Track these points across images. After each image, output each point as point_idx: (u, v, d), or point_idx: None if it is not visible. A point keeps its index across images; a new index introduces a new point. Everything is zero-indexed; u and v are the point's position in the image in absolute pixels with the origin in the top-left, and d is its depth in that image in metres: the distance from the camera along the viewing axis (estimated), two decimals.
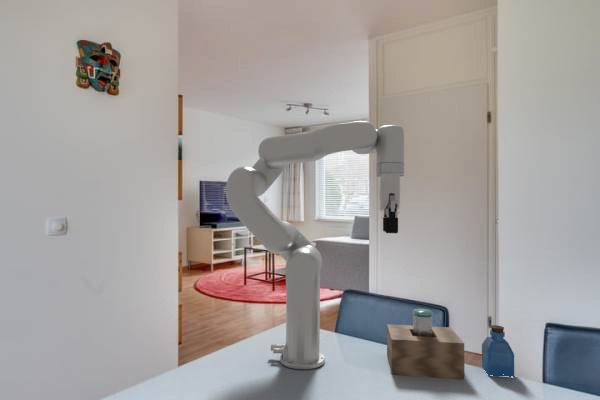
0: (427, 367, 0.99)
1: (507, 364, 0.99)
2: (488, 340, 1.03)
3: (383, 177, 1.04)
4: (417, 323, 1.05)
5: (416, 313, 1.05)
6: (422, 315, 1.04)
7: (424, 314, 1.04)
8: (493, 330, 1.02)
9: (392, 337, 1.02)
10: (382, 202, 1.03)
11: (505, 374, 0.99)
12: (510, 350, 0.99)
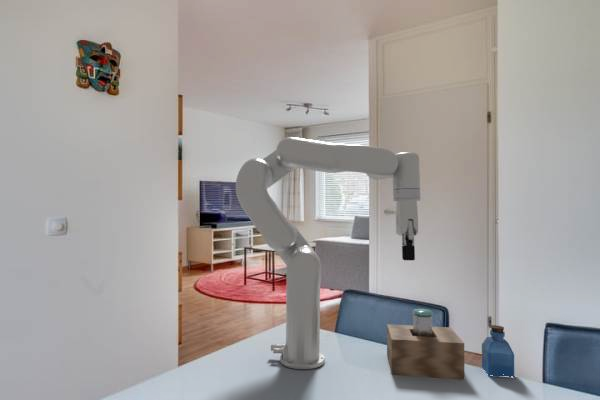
0: (427, 367, 0.99)
1: (507, 364, 0.99)
2: (488, 340, 1.03)
3: (401, 203, 1.07)
4: (417, 323, 1.05)
5: (416, 313, 1.05)
6: (422, 315, 1.04)
7: (424, 314, 1.04)
8: (493, 330, 1.02)
9: (392, 337, 1.02)
10: (401, 228, 1.06)
11: (505, 374, 0.99)
12: (510, 350, 0.99)
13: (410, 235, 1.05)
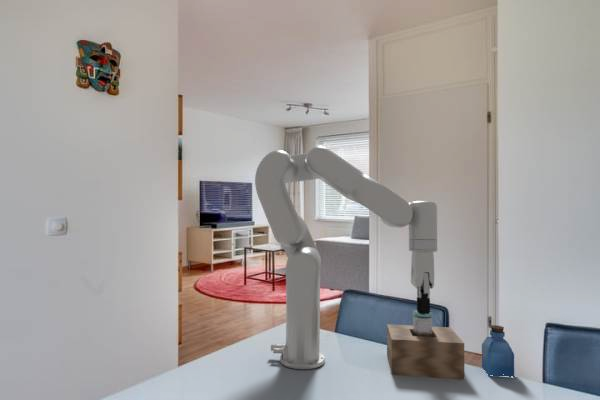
0: (427, 367, 0.99)
1: (507, 364, 0.99)
2: (488, 340, 1.03)
3: (417, 255, 1.03)
4: (417, 325, 1.05)
5: (416, 314, 1.05)
6: (422, 316, 1.04)
7: (424, 316, 1.04)
8: (493, 330, 1.02)
9: (392, 337, 1.02)
10: (417, 281, 1.02)
11: (505, 374, 0.99)
12: (510, 350, 0.99)
13: (425, 289, 1.02)
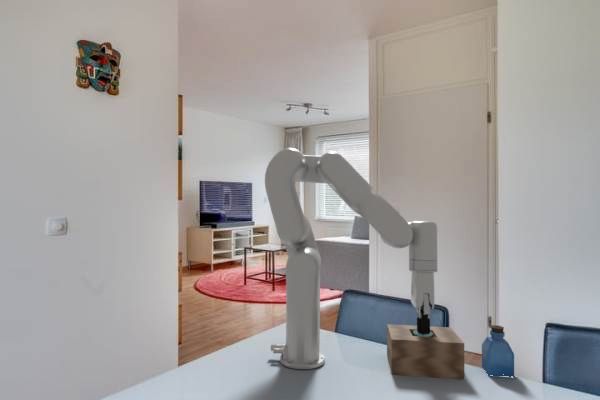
0: (427, 367, 0.99)
1: (507, 364, 0.99)
2: (488, 340, 1.03)
3: (417, 276, 1.03)
4: None
5: (416, 335, 1.05)
6: None
7: (424, 336, 1.04)
8: (493, 330, 1.02)
9: (392, 337, 1.02)
10: (417, 302, 1.02)
11: (505, 374, 0.99)
12: (510, 350, 0.99)
13: (426, 310, 1.01)
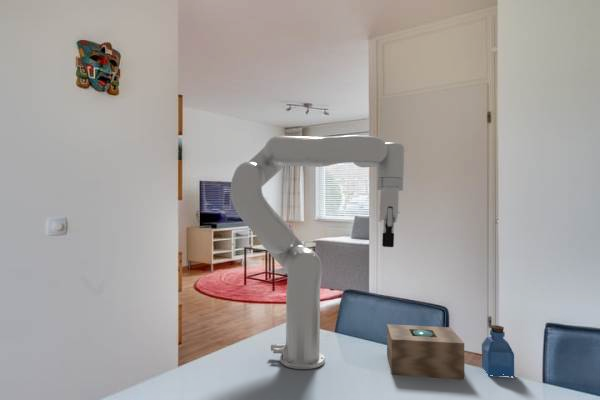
0: (427, 367, 0.99)
1: (507, 364, 0.99)
2: (488, 340, 1.03)
3: (383, 191, 1.11)
4: None
5: (416, 335, 1.05)
6: None
7: (424, 336, 1.04)
8: (493, 330, 1.02)
9: (392, 337, 1.02)
10: (381, 214, 1.10)
11: (505, 374, 0.99)
12: (510, 350, 0.99)
13: (389, 222, 1.09)
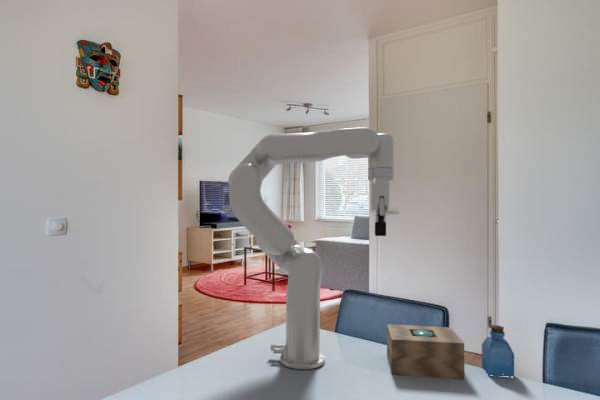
0: (427, 367, 0.99)
1: (507, 364, 0.99)
2: (488, 340, 1.03)
3: (374, 181, 1.13)
4: None
5: (416, 335, 1.05)
6: None
7: (424, 336, 1.04)
8: (493, 330, 1.02)
9: (392, 337, 1.02)
10: (373, 204, 1.13)
11: (505, 374, 0.99)
12: (510, 350, 0.99)
13: (381, 211, 1.12)
